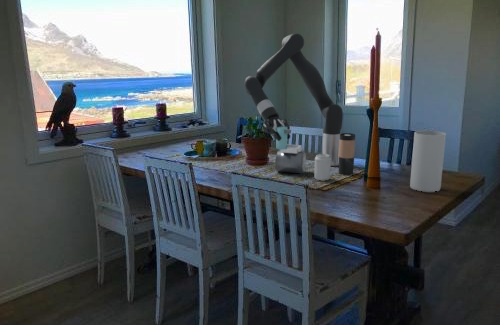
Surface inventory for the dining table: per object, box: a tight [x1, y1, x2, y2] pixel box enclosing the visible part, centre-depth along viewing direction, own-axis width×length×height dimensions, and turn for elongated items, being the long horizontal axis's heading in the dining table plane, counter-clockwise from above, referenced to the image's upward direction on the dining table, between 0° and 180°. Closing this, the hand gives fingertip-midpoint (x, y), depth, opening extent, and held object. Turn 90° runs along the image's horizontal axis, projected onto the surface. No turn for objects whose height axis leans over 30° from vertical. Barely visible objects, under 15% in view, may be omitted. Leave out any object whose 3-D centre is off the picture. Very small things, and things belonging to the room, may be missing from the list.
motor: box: [274, 143, 307, 174], centre depth 214 cm, size 13×11×14 cm
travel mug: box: [338, 132, 356, 176], centre depth 210 cm, size 8×8×20 cm
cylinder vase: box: [409, 130, 447, 193], centre depth 183 cm, size 12×12×25 cm
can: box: [314, 153, 331, 182], centre depth 201 cm, size 8×8×12 cm
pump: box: [275, 126, 292, 150], centre depth 195 cm, size 8×5×10 cm, turn 38°
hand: (284, 138), depth 195 cm, fingers closed on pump, 5 cm apart
